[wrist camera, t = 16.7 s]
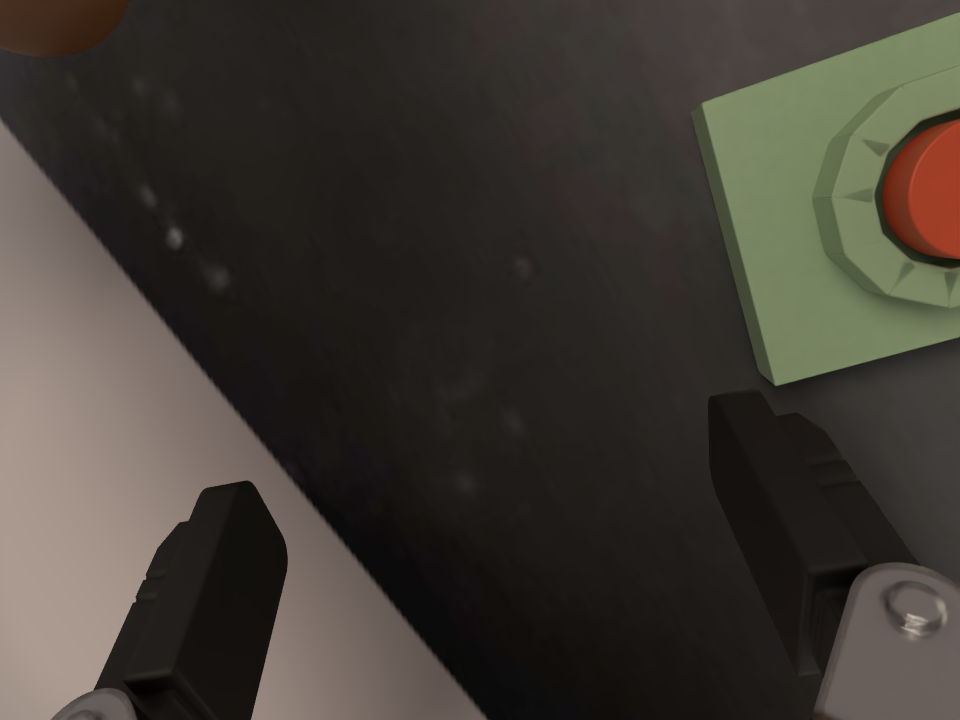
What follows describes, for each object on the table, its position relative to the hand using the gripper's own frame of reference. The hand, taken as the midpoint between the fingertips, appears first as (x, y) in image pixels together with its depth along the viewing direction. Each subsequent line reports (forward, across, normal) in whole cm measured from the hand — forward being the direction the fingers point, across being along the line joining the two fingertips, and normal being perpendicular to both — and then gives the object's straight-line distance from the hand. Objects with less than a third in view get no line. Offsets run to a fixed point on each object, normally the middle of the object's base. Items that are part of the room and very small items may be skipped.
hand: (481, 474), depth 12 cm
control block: (+14, -15, +3) cm, 21 cm away
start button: (+11, -15, +2) cm, 18 cm away
